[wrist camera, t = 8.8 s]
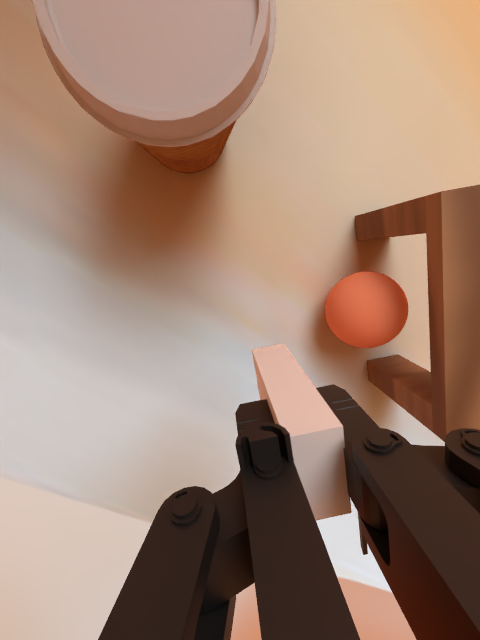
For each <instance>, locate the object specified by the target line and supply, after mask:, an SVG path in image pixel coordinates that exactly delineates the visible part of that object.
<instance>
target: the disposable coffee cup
mask: <svg viewBox="0 0 480 640" xmlns="http://www.w3.org/2000/svg"><path fill="white" fill-rule="evenodd" d="M32 2H33V5H34V8H35V11H36V19H37V23H38V26H39V30H40V34H41V38H42V41H43V45H44V48H45V50H46V52H47V54H48V57H49V59H50V61H51V63H52V65H53V67H54V69H55V72H56V73H57V75H58V76H59V78H60V80H61V81H62V83H63V84H64V86H65V87H66V89H67V90H68V91H69V93H70V94H71V95H72V96H73V97H74V99H75V100H76V101H77V102H78V103H79V104H80V106H81V107H82V108H83V109H84V110H85V111H87V112H88V113H89V114H90V115H91V116H92V117H93V118H95V119H96V120H97V121H99V122H100V123H101V124H103V125H104V126H105V127H107V128H108V129H110V130H112V131H114V132H116V133H117V134H119V135H121V136H123V137H125V138H127V139H130V140H133V141H136V142H137V143H138V144H139V145H140V146H142V147H143V148H144V149H145V150H147V151H148V152H149V153H150V154H152V155H153V156H154V157H155V158H156V159H158V160H159V161H160V162H161V163H162V164H164V165H165V166H166V167H168V168H170V169H172V170H175V171H179V172H183V173H193V172H198V171H201V170H204V169H206V168H207V167H209V166H210V165H212V164H213V163H214V162H215V161H216V160H217V159H218V157H219V156H220V154H221V153H222V151H223V148H224V146H225V144H226V141H227V139H228V137H229V135H230V133H231V131H232V128H233V126H234V124H235V122H236V120H237V119H238V118H239V117H240V115H241V114H242V113H243V112H244V111H245V110H246V109H247V107H248V106H249V105H250V104H251V102H252V100H253V99H254V97H255V95H256V94H257V92H258V90H259V88H260V86H261V85H262V83H263V81H264V79H265V76H266V73H267V69H268V66H269V62H270V59H271V55H272V51H273V48H274V39H275V26H276V13H275V0H32Z"/></svg>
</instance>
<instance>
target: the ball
mask: <svg viewBox="0 0 480 640" xmlns="http://www.w3.org/2000/svg"><path fill="white" fill-rule="evenodd" d="M325 315H326V320H327V323H328V325H329V327H330V329H331V330H332V332H333V333H334V334H335V335H336V336H337V337H338V338H339V339H340V340H342V341H343V342H345V343H347V344H349V345H352V346H355V347H360V348H372V347H377V346H381V345H383V344H385V343H387V342H389V341H391V340H392V339H393V338H395V337H396V336H397V335H398V334H399V333H400V331H401V330H402V328H403V327H404V325H405V323H406V320H407V316H408V302H407V298H406V296H405V293H404V291H403V290H402V289H401V287H400V286H399V285H398V284H397V283H396V282H395V281H394V280H393V279H391V278H390V277H388V276H386V275H384V274H380V273H377V272H369V271H365V272H358V273H354V274H351V275H349V276H347V277H345V278H343V279H342V280H340V281H339V282H338V283H337V284H336V285H335V286H334V287H333V288H332V290H331V291H330V293H329V295H328V297H327V300H326V305H325Z"/></svg>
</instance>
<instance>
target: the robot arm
mask: <svg viewBox="0 0 480 640" xmlns="http://www.w3.org/2000/svg"><path fill="white" fill-rule="evenodd" d="M252 353H253V359H254V364H255V370H256V376H257V382H258V388H259V393H260V399H261V400H259V401H254V402H249V403H244V404H240V405H239V407H238V409H237V411H236V413H235V414H236V422H237V430H238V437H237V440H236V450H237V454H238V459H239V464H240V472H239V474H238V476H237V477H236V479H235V480H234V481H233V482H231V483H230V484H229V485H228V486H226V487H225V488H223V489H221V490H219V491H217V492H215V493H213V494H212V493H211V492H210V491H208V490H207V489H205V488H203V487H197V486H193V487H187V488H183V489H181V490H179V491H177V492H175V493H173V494H172V495H171V496H170V497H169V498H168V499H166V500H165V501H164V503H163V504H162V506H161V507H160V509H159V510H158V512H157V514H156V516H155V519H154V521H153V523H152V525H151V527H150V529H149V531H148V534H147V536H146V538H145V541H144V543H143V544H142V547H141V549H140V551H139V553H138V555H137V557H136V559H135V562H134V564H133V566H132V568H131V570H130V572H129V574H128V577H127V579H126V581H125V583H124V585H123V588H122V589H121V592H120V594H119V596H118V598H117V600H116V603H115V605H114V607H113V609H112V611H111V613H110V615H109V617H108V620H107V622H106V624H105V626H104V628H103V630H102V633H101V635H100V637H99V639H98V640H230V638H231V631H232V624H233V616H234V608H235V602H236V594H238V593H239V592H241V591H242V590H244V589H245V588H247V587H248V586H250V585H251V584H253V583H254V582H255V589H256V597H257V605H258V612H259V621H260V628H261V638H262V640H360V638H359V635H358V632H357V630H356V627H355V624H354V622H353V619H352V617H351V614H350V611H349V608H348V606H347V603H346V600H345V598H344V595H343V593H342V590H341V587H340V584H339V582H338V579H337V576H336V574H335V571H334V568H333V566H332V563H331V560H330V558H329V555H328V552H327V549H326V547H325V544H324V541H323V539H322V536H321V533H320V531H319V528H318V525H317V523H316V520H320V519H325V518H329V517H334V516H338V515H343V514H348V513H351V504H350V498H351V500H352V501H353V503H354V505H355V507H356V509H357V511H358V519H359V530H360V541H361V548H362V551H363V555H365V554H368V552H367V544H368V546H369V547H370V549H371V551H372V553H373V555H374V557H375V559H376V561H377V563H378V565H379V567H380V569H381V571H382V573H383V575H384V577H385V579H386V581H387V583H388V584H389V586H390V588H391V590H392V592H393V594H394V596H395V598H396V600H397V602H398V604H399V606H400V607H401V610H402V612H403V614H404V615H405V618H406V619H407V621H408V623H409V625H410V627H411V629H412V631H413V633H414V635H415V637H416V639H417V640H480V430H478V429H468V428H461V429H457V430H453V431H451V432H449V433H448V434H447V435H446V438H445V446H420V445H411V444H410V443H409V442H408V441H407V440H406V439H405V438H404V437H402V436H401V435H399V434H398V433H396V432H393V431H391V430H388V429H383V428H379V427H378V426H377V424H376V423H375V422H374V421H373V420H372V419H371V418H370V417H369V416H368V415H367V414H366V412H365V411H364V410H363V409H362V408H361V407H360V406H358V404H357V403H356V402H355V400H354V399H352V397H351V396H350V395H349V394H348V393H347V392H346V391H345V390H344V389H342V388H340V387H338V386H335V385H329V386H324V387H319V388H315V386H314V385H313V384H312V382H311V381H310V379H309V378H308V377H307V375H306V374H305V373H304V371H303V370H302V368H301V367H300V366H299V364H298V363H297V361H296V360H295V359H294V357H293V356H292V354H291V353H290V352H289V350H288V349H287V347H286V346H285V345H284V343H283V344H278V345H272V346H267V347H262V348H257V349H252Z"/></svg>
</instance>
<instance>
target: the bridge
mask: <svg viewBox="0 0 480 640" xmlns="http://www.w3.org/2000/svg"><path fill="white" fill-rule="evenodd" d="M355 221H356V233H357V241H358V240H367V239H376V238H386V237H395V236H404V235H413V234H422V233H426V235H427V266H428V297H429V328H430V359H431V372H429V371H427V370H426V369H424V368H422V367H420V366H418V365H416V364H415V363H413V362H411V361H409V360H407V359H405V358H403V357H402V356H400V355H393V356H388V357H383V358H378V359H373V360H368V361H367V365H368V377H369V381H370V382H372V383H373V384H374V385H375V386H376V387H378V388H379V389H380V390H381V391H383V392H384V393H385V394H386V395H388V396H389V397H390V398H391V399H392V400H394V401H395V402H396V403H397V404H399V405H400V406H401V407H402V408H404V409H405V410H406V411H407V412H408V413H410V414H411V415H412V416H413V417H415V418H416V419H417V420H418V421H420V422H421V423H422V424H423V425H424V426H426V427H427V428H428V429H429V430H431V431H432V432H433V433H434V434H436V435H437V436H438V437H439V438H440V439H442V440H443V441H444V442H445V438H446V435H447V434H448V433H449V432H451V431H453V430H457V429H461V428H468V429H478V430H480V185H476V186H470V187H464V188H459V189H453V190H447V191H442V192H438V193H435V194H431V195H428V196H424V197H421V198H417V199H414V200H410V201H407V202H403V203H400V204H396V205H393V206H389V207H386V208H382V209H379V210H375V211H372V212H368V213H365V214H361V215H358V216H355Z"/></svg>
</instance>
